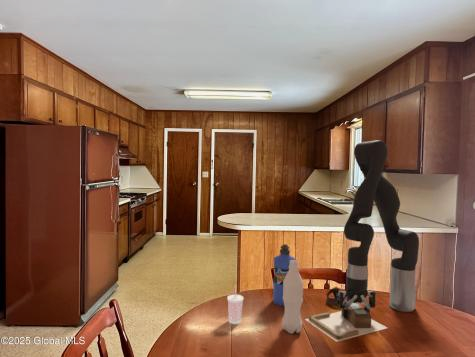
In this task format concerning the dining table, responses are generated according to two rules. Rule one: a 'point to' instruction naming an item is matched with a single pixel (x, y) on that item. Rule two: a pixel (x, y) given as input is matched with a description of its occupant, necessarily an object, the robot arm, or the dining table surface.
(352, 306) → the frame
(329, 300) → the pottery mug
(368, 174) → the robot arm
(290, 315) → the water bottle
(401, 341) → the dining table surface
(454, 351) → the dining table surface
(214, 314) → the dining table surface
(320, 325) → the wall board
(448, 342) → the dining table surface
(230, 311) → the beverage cup
